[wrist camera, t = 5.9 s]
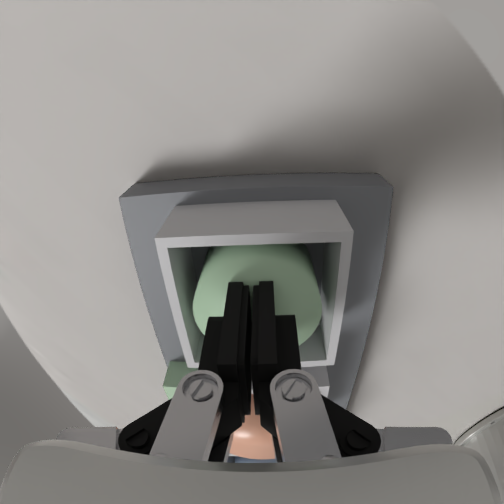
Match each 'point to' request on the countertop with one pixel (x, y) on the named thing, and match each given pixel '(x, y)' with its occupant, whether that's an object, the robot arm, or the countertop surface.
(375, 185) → the button panel
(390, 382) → the countertop surface
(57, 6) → the countertop surface
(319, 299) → the green button
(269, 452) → the terracotta button
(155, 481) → the robot arm
